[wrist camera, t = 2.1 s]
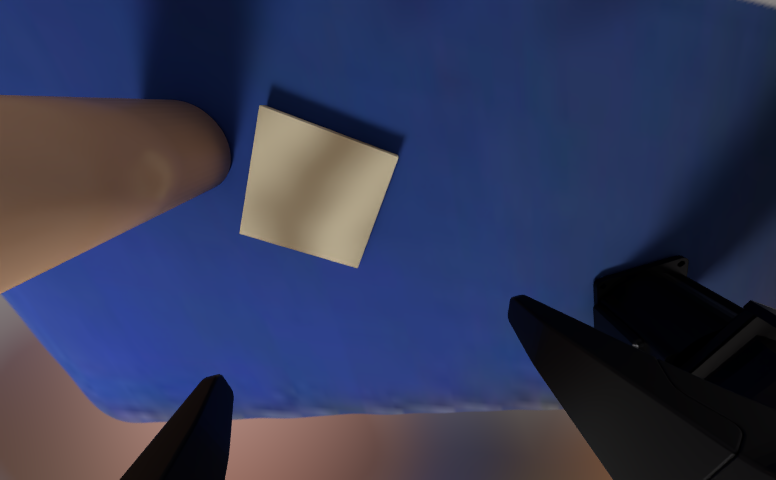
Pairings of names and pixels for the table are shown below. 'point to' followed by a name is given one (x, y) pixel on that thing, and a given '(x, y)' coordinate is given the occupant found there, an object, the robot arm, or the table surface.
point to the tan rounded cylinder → (95, 172)
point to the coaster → (313, 188)
